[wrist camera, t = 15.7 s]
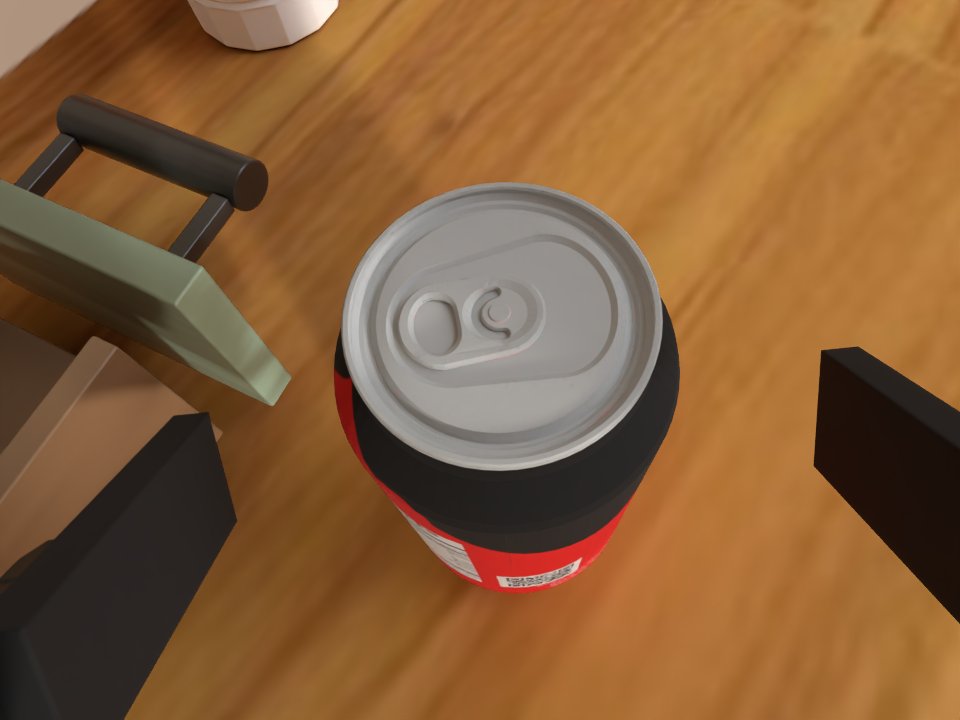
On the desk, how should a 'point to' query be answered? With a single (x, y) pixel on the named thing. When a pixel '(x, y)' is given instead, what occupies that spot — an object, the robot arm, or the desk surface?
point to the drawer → (112, 318)
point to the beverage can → (507, 378)
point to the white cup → (261, 20)
